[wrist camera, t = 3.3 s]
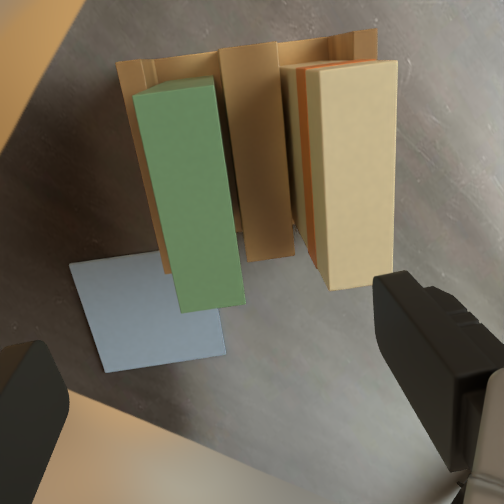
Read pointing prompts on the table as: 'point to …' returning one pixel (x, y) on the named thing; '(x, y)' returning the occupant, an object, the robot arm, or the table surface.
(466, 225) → the table surface
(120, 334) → the felt pad
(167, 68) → the book rack
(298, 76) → the cream book
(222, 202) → the green book
